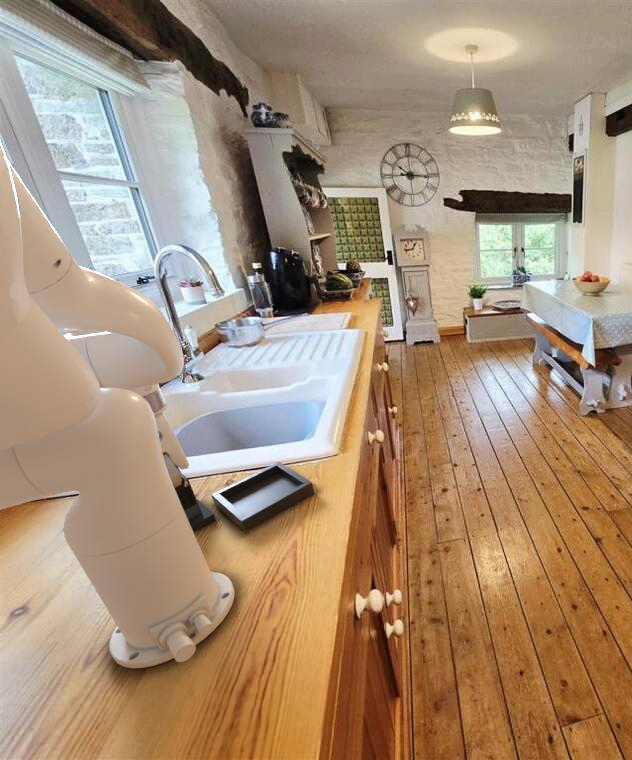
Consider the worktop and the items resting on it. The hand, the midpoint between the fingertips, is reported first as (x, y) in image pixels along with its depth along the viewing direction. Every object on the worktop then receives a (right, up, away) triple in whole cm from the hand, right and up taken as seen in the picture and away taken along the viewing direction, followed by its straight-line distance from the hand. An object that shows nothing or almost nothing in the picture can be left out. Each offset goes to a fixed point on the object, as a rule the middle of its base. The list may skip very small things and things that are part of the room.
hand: (173, 497), depth 67 cm
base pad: (+11, -2, +7) cm, 13 cm away
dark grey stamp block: (+1, -5, +1) cm, 5 cm away
